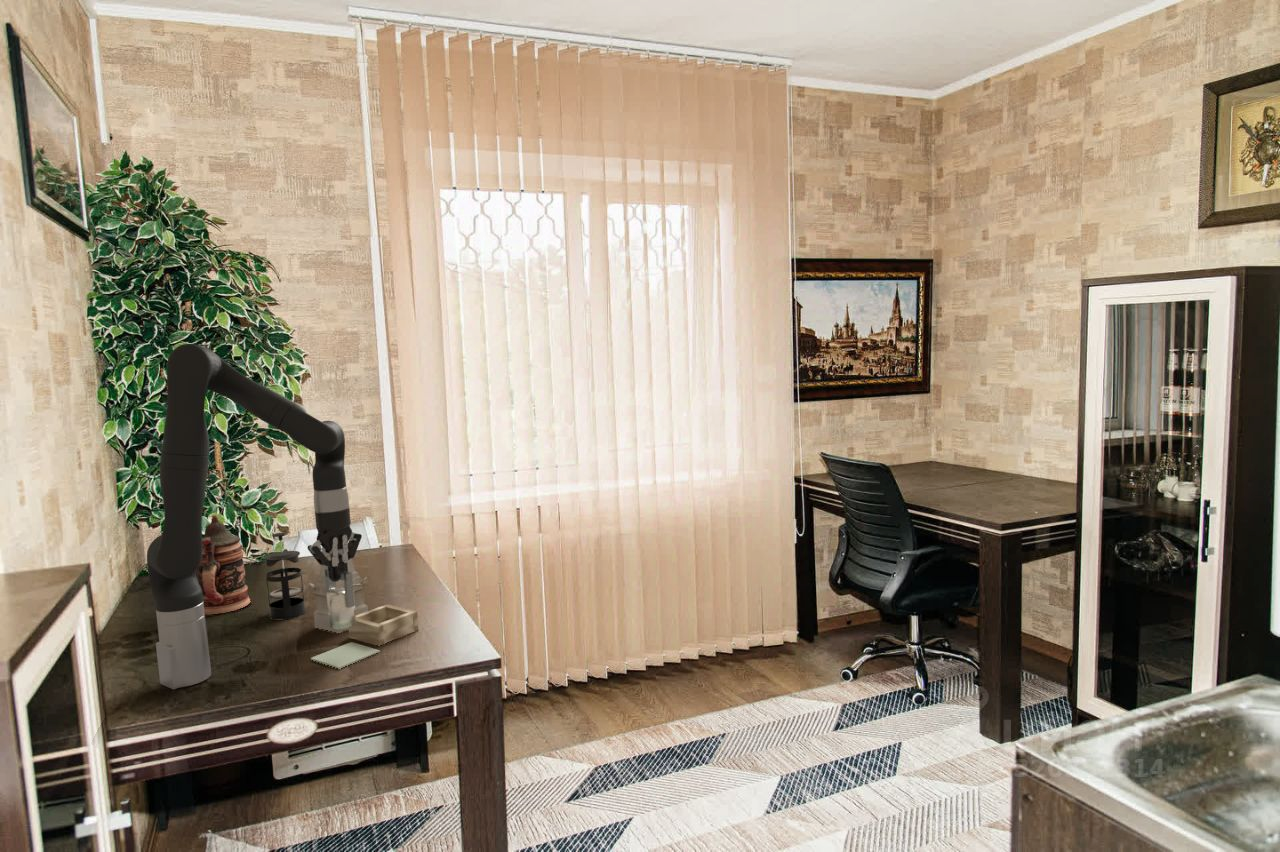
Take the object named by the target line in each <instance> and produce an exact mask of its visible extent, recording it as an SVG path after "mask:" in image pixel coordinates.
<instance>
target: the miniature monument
mask: <svg viewBox="0 0 1280 852" xmlns="http://www.w3.org/2000/svg"><path fill="white" fill-rule="evenodd" d="M347 545H348V543H347ZM321 548H322V550H321V551H322V553H323V554H324V548H323V547H322V546H321ZM336 558H337V557H336ZM353 562H354V561H353V558H351V559H350V560H348V562H347V565H348V572H352V578H353V589H354V600H355V611H356V615H359V614H362V613H364V612H367V611H369V607H368V606H369V605H367V604H365V599H364V598H365V597H364V596H365V595H364V589H366V588H368V587H369V586H370V585H369V577H368V576H366V577H364V578H362V577H361V576H360V575H359V572H358V571H356V570H355V565H354V563H353ZM337 563H339V562H338V560H337ZM336 566H338V564H337V565H336ZM325 569H328V567H327V566H325V565H320V572H319V575H317V577H316V579H317V580H316V581H315V584H314V583H308V593H309V594H311V595H314V597H315V606H316V607H315V608H316V609H315V610H314V611H313V622H314V629H316V628H319V629H318V630H321V629H324V630H323V631H325V630H328V631H327V632H330V631H332V632H331V633H334V632H336V633H335V634H338V633H340V634H342V633H344V632H343V631H345V632H347V631H349V630H348V628H344V629H331V628H330V627H329V617H328V606H327V595H326V593H327V588H326V578H325ZM337 588H344V580H340V579H339V581H337V582H335V589H337ZM346 630H347V631H346ZM341 632H342V633H341Z"/></svg>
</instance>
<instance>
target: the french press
mask: <svg viewBox="0 0 1280 852" xmlns="http://www.w3.org/2000/svg"><path fill="white" fill-rule="evenodd" d="M288 535H289V532H286V531H284V532H283V531H282V532H281V531H280V532H275V533H274V534H272V535H271V537H274V538H278V541H279V543H280V545H279V546H280V551H278V552H277V551H276V552H273V553H269V554H267V555H265V556H264V557H263V558H264V560H265V562H266V566H268V567H273V566H274V565H275V564H277V563H278V562H280V561H281V562H282V566H281V568H278V569H275V570H271V571H269V572H267V573H266V575H265V579H266V587H267V588H266V589H267V599H268V608H269V609H268V610H269V614H268V617H270V618H272V619H286V620H290V619H289V618H292V619H295V618H294V617H296V618H298V616H299V617H301V616H302V615H304V614H306V612H307V609H306V605H305V604H306V603H305V596H304V595H305V594H304V583H303V573H302V572H303V571H302V569H301V568H299V567H285V564H284V563H285V562H284V561H289V562H291V563H294V564H295V563H298V562H299V556H300V554H301V552H300V551H298V550H283V544H282V543H283V542H282V541H283V539H284V538H283V537H284V536H288ZM288 573H289V574H288ZM290 573H294V574H290ZM276 575H280V576H276ZM297 578H300V580H301V587H297V586H292V587H291V586H289V585H290V584H289V581H293V580H295V579H297ZM269 582H271V583H279V582H280V584H281V585H280V586H281V588H279V589H275V590H273V591H271V592H269V591H270V590H269ZM301 593H302V597H297V596H298V595H300V594H301ZM270 598H271V599H275V600H274V601H272V602H270V601H271V600H270ZM276 599H277V600H276ZM300 615H301V616H300ZM270 618H269V619H270ZM272 619H271V620H272Z"/></svg>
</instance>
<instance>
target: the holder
mask: <svg viewBox="0 0 1280 852" xmlns="http://www.w3.org/2000/svg"><path fill="white" fill-rule="evenodd" d="M418 618H419V617H418V611H417V610H412V609H408V608H405V607H400V606H395V605H392V604H388V603H387V604H383V605H381V606H378V607H376V608H373V609H370V610H368V611H367V612H364V613H362V614H359V615H356V624H355V625H353V626H351V627H348V630H347V631H348V637H349V639H352V640H355V639H356V641H359V642H362V641H363V643H366V642H367V643H366V644H369V643H371V644H370V645H372V644H375V645H374V646H376V645H378V646H377V647H381V646H380V645H382V644H384V645H386V644H385V643H387V642H389V641H392V640H394V639H397V638H399V637H401V638H403V637H402V636H404V635H406V636H408V635H407V634H409V633H411V632H414V631H416V632H418V631H419V619H418ZM417 630H418V631H417ZM414 633H415V632H414ZM411 634H412V633H411ZM409 635H410V634H409ZM404 637H405V636H404ZM399 639H400V638H399ZM397 640H398V639H397ZM394 641H395V640H394ZM392 642H393V641H392ZM389 643H390V642H389ZM387 644H388V643H387ZM382 646H383V645H382Z"/></svg>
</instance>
